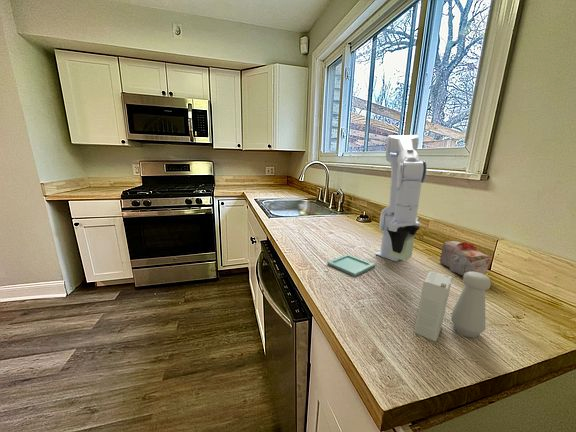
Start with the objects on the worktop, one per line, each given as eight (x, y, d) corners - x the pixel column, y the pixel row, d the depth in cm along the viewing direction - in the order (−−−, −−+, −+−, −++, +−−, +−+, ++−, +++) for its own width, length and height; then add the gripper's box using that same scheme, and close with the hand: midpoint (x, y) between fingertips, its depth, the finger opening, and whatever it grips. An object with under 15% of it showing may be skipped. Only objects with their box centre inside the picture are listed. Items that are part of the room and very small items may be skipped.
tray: (347, 256, 87) (347, 253, 87) (374, 266, 79) (374, 264, 78) (327, 264, 80) (327, 261, 80) (354, 276, 72) (355, 273, 72)
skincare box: (419, 318, 53) (427, 269, 51) (442, 327, 51) (453, 276, 48) (412, 333, 49) (421, 280, 46) (438, 344, 46) (448, 288, 43)
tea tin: (396, 252, 73) (399, 231, 72) (411, 256, 70) (415, 235, 68) (389, 255, 71) (391, 234, 69) (404, 260, 67) (407, 238, 66)
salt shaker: (489, 343, 46) (504, 283, 43) (456, 338, 47) (469, 280, 44) (473, 323, 52) (485, 269, 49) (444, 320, 53) (454, 266, 50)
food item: (491, 282, 70) (498, 251, 68) (465, 282, 70) (472, 251, 67) (456, 262, 83) (461, 235, 81) (434, 262, 83) (439, 236, 81)
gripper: (410, 210, 59) (403, 260, 62) (431, 204, 68) (424, 248, 72) (383, 206, 64) (378, 252, 68) (407, 200, 74) (401, 241, 77)
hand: (400, 249), depth 70 cm, fingers closed on tea tin, 4 cm apart
